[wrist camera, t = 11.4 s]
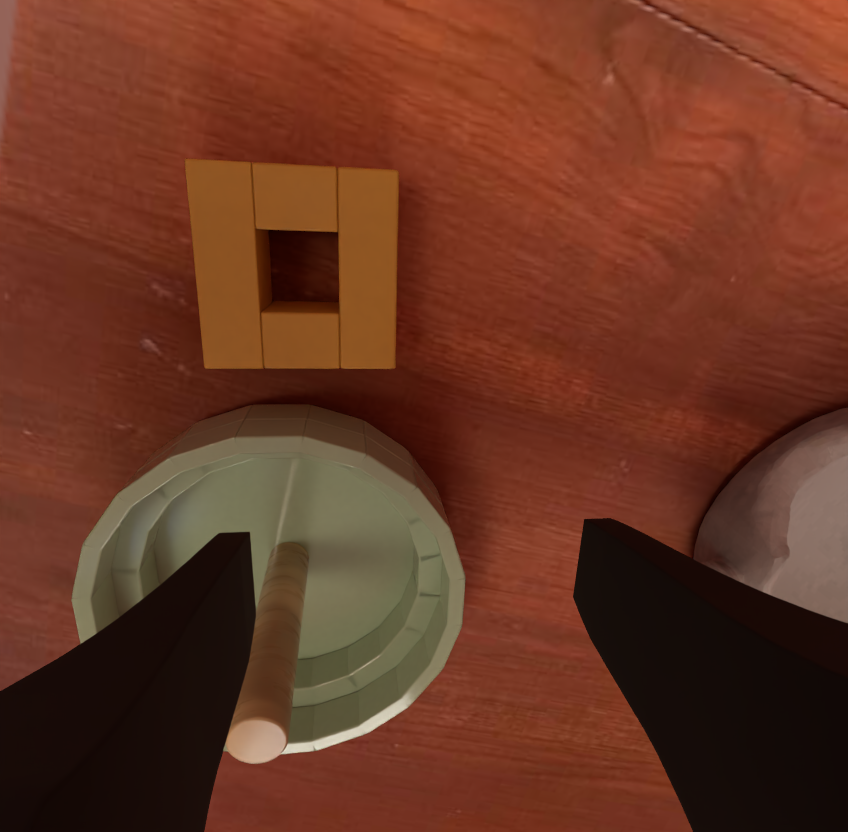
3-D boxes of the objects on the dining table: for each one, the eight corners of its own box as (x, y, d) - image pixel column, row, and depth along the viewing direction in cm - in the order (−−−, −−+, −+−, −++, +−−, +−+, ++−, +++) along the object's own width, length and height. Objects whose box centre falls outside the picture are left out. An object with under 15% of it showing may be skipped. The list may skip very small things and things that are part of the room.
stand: (224, 349, 20) (204, 368, 17) (209, 169, 18) (183, 158, 15) (388, 350, 21) (395, 369, 18) (391, 178, 19) (399, 169, 16)
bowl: (143, 686, 24) (105, 771, 20) (97, 400, 20) (38, 439, 16) (439, 665, 26) (454, 739, 22) (453, 398, 22) (476, 433, 18)
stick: (270, 576, 22) (227, 767, 14) (268, 542, 22) (222, 721, 14) (310, 574, 22) (289, 762, 15) (308, 540, 22) (286, 715, 14)
